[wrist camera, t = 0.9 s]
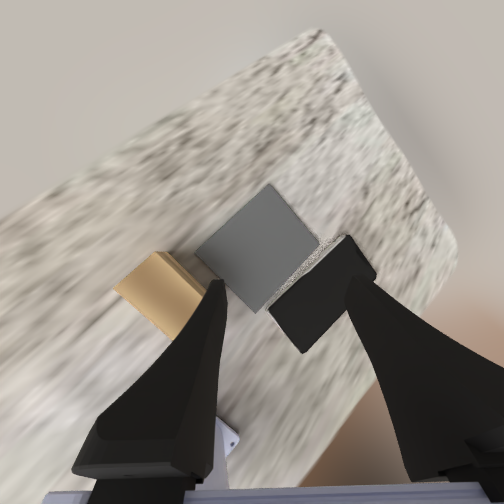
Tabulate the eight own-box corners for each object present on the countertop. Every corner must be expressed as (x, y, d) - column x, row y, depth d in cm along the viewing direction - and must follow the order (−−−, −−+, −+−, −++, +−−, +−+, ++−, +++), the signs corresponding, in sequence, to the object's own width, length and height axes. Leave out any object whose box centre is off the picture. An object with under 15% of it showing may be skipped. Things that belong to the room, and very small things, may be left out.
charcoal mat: (254, 312, 24) (255, 313, 23) (194, 252, 22) (194, 252, 22) (318, 244, 26) (319, 244, 26) (268, 184, 24) (269, 183, 24)
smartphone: (264, 309, 23) (347, 231, 26) (261, 307, 25) (341, 232, 27) (304, 356, 25) (379, 277, 28) (299, 351, 26) (371, 275, 29)
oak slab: (192, 328, 22) (190, 355, 16) (137, 278, 21) (112, 288, 15) (218, 302, 23) (225, 319, 17) (167, 251, 21) (155, 251, 16)
